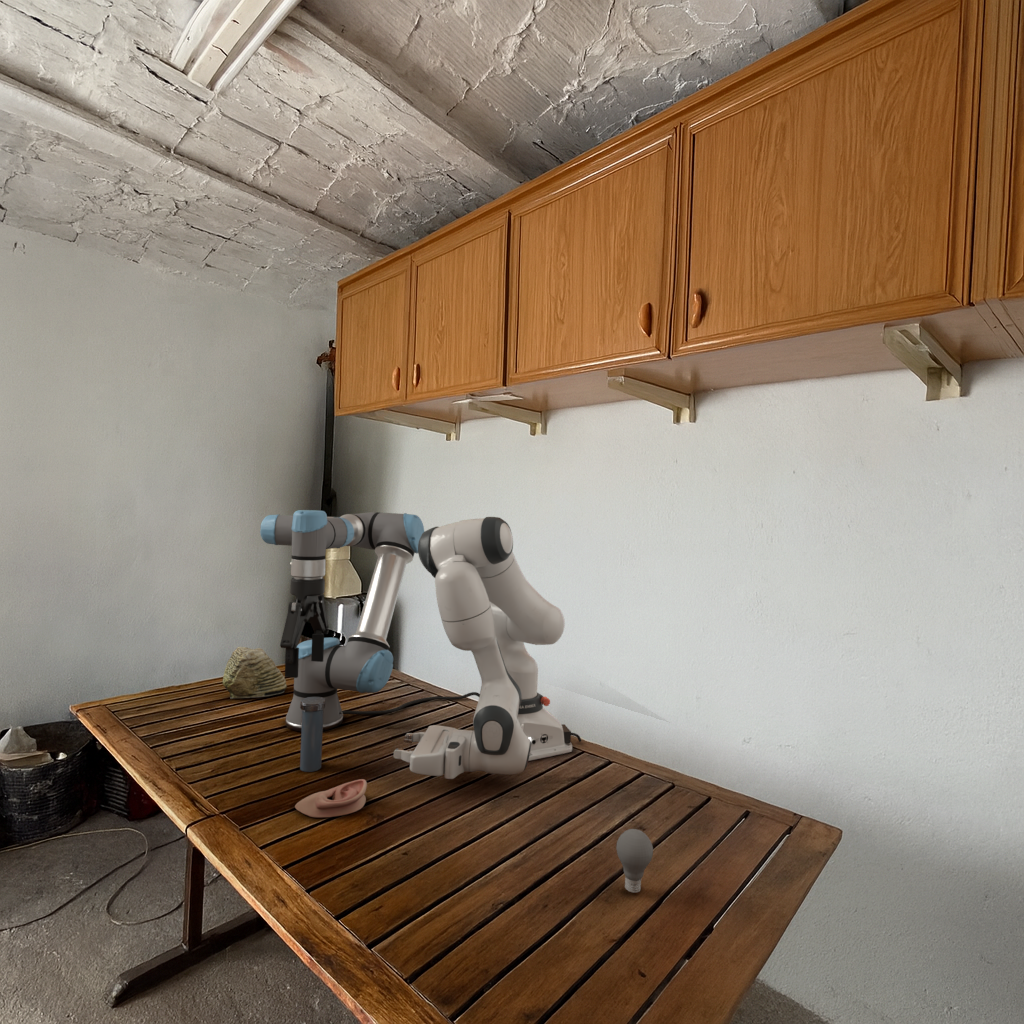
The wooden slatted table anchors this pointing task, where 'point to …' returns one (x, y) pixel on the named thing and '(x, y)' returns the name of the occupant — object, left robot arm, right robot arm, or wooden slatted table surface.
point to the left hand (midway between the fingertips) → (304, 668)
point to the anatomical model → (335, 800)
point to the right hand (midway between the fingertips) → (399, 745)
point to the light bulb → (634, 857)
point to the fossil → (252, 674)
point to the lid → (312, 704)
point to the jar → (311, 740)
